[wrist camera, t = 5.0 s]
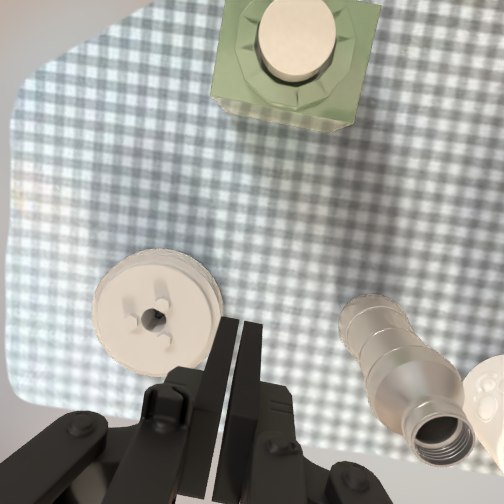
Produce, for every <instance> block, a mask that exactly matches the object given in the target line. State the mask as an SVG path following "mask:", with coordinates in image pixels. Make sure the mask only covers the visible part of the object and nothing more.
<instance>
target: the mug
mask: <svg viewBox="0 0 504 504" xmlns="http://www.w3.org/2000/svg"><path fill="white" fill-rule="evenodd" d="M462 384H463V388H464V394H465V399H464V405H463V408H462V410H463V411H464V413H465V414H466V417H467V419H468V421H469V422H470V424H471V425H472V427H473V429H474V433H475V435H476V437H477V438H478V439H479V441H480V442H481V443H482V445H483V446H484V448H485V449H486V450H487V452H488V453H489V454H490V456H491V457H492V458H493V460H494V461H495V462H496V464H497V465H498V466H499V468H500V469H501V470H502V472H503V473H504V355H498V356H494V357H491V358H489V359H486V360H484V361H483V362H481V363H479V364H478V365H477V366H475V367H474V368H473V369H472V370H471V371H470V372H469V373H468V375H467V376H466V377H465V379H464V381H463V383H462Z"/></svg>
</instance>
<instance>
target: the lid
mask: <svg viewBox="0 0 504 504" xmlns="http://www.w3.org/2000/svg"><path fill="white" fill-rule="evenodd" d="M154 308H155V309H156V310H158V311H160V312H162V313H164V315H165V316H162V317H161V319H159V318H158V317H156V316H155V314H156V312H155V310H154ZM223 310H224V309H223V300H222V296H221V292H220V289H219V287H218V285H217V283H216V281H215V279H214V278H213V276H212V275H211V274H210V272H209V271H208V270H207V269H206V268H205V267H204V266H203V265H202V264H201V263H199V262H198V261H197V260H195V259H194V258H192V257H190V256H188V255H186V254H184V253H181V252H179V251H175V250H171V249H163V248H158V249H148V250H143V251H140V252H137V253H135V254H132V255H130V256H128V257H127V258H126V259H124V260H123V261H121V262H120V263H118V264H117V265H115V266H114V267H113V268H112V269H110V270H109V271H108V272H107V273H106V275H105V276H104V277H103V278H102V280H101V281H100V283H99V284H98V287H97V289H96V291H95V294H94V297H93V302H92V321H93V326H94V330H95V333H96V335H97V337H98V340H99V341H100V343H101V345H102V346H103V348H104V349H105V350H106V352H107V353H108V354H109V355H110V356H111V357H112V358H113V359H114V360H115V361H116V362H118V363H119V364H121V365H122V366H123V367H125V368H127V369H129V370H131V371H133V372H136V373H138V374H142V375H146V376H152V377H166V376H167V374H168V372H169V371H171V370H172V369H174V368H175V367H177V366H182V367H187V368H194V367H196V366H197V365H198V364H200V363H201V362H202V361H203V360H204V359H205V358H206V357H207V356H208V355H209V353H210V351H211V347H212V344H213V341H214V338H215V335H216V331H217V328H218V325H219V322H220V318H221V316H223Z"/></svg>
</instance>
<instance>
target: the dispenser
mask: <svg viewBox="0 0 504 504" xmlns="http://www.w3.org/2000/svg"><path fill="white" fill-rule="evenodd" d="M273 1H274V0H225V6H224V12H223V18H222V25H221V31H220V37H219V43H218V49H217V55H216V61H215V67H214V73H213V80H212V86H211V92H210V96H211V97H212V98H213V99H214V100H215V101H216V102H217V103H218V104H219V105H220V106H221V107H222V108H223V109H224V110H225V111H226V112H227V113H229V114H234V115H239V116H245V117H250V118H255V119H260V120H265V121H270V122H275V123H280V124H285V125H290V126H295V127H300V128H305V129H310V130H315V131H320V132H325V133H332V132H334V131H337V130H339V129H342V128H344V127H347V126H349V125H352V124H353V123H354V120H355V115H356V111H357V107H358V103H359V99H360V94H361V90H362V86H363V82H364V77H365V73H366V69H367V65H368V60H369V56H370V52H371V48H372V44H373V39H374V35H375V31H376V27H377V22H378V18H379V14H380V10H381V5H376V4H371V3H366V2H361V1H356V0H322V1H323V2H324V3H325V4H326V5H327V6H328V8H329V9H330V11H331V13H332V15H333V17H334V20H335V25H336V39H335V44H334V47H333V49H332V52H331V54H330V55H329V57H328V59H327V61H326V62H325V64H324V66H323V67H322V68H321V70H320V71H319V72H318V73H317V74H315V75H314V76H313V77H311V78H309V79H307V80H305V81H301V82H286V81H283V80H281V79H278V78H277V77H275V76H274V75H273V74H271V73H270V72H269V71H268V69H267V68H266V66H265V65H264V63H263V61H262V58H261V54H260V47H259V25H260V21H261V19H262V16H263V14H264V12H265V11H266V9H267V8H268V6H269V5H270V4H271V3H272V2H273Z"/></svg>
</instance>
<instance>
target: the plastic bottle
mask: <svg viewBox="0 0 504 504" xmlns="http://www.w3.org/2000/svg"><path fill="white" fill-rule="evenodd" d="M339 336H340V338H341V341H342V343H343V344H344V346H345V347H346V348H347V350H348V351H349V352H350V353H351V354H352V355H353V356H354V357H355V358H356V360H357V361H358V363H359V364H360V367H361V370H362V372H363V375H364V381H365V387H366V393H367V398H368V402H369V405H370V407H371V410H372V412H373V413H374V415H375V416H376V418H377V419H378V420H379V421H380V422H381V423H383V424H384V425H385V426H386V427H387V428H389V429H390V430H392V431H393V432H395V433H397V434H400V435H402V436H404V437H405V439H406V440H407V442H408V443H409V444H410V446H411V448H412V450H413V452H414V453H415V455H416V456H417V457H418V458H419V459H420V460H421V461H422V462H424V463H426V464H428V465H430V466H435V467H448V466H452V465H455V464H457V463H459V462H461V461H463V460H464V459H465V458H466V457H467V456H468V455H469V454H470V453H471V451H472V450H473V447H474V445H475V433H474V429H473V427H472V425H471V424H470V422H469V421H468V419H467V417H466V414H465V413H464V411H463V410H462V408H463V405H464V399H465V394H464V388H463V384H462V380H461V377H460V375H459V373H458V371H457V369H456V368H455V367H454V366H453V365H452V364H451V363H450V362H449V361H448V360H447V359H446V358H445V357H444V356H442V355H441V354H439V353H438V352H436V351H435V350H433V349H432V348H430V347H429V346H428V345H426V344H425V343H424V342H423V341H422V340H421V339H420V338H419V337H418V336H417V335H416V334H415V333H414V331H413V330H412V328H411V326H410V323H409V320H408V318H407V316H406V314H405V312H404V310H403V309H402V307H401V306H400V305H399V304H398V303H396V302H395V301H393V300H391V299H389V298H387V297H385V296H383V295H378V294H366V295H362V296H359V297H356V298H355V299H353V300H351V301H350V302H349V303H348V304H347V305H346V306H345V307H344V309H343V310H342V312H341V314H340V318H339Z"/></svg>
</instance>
